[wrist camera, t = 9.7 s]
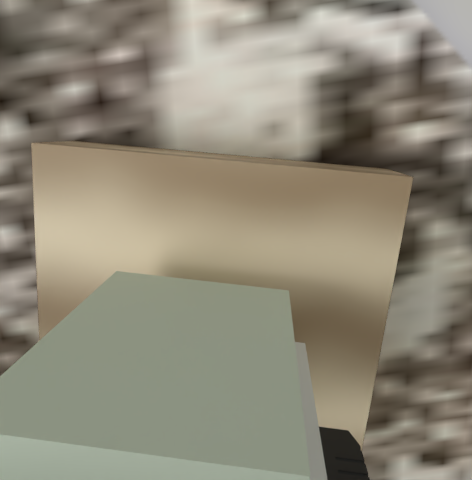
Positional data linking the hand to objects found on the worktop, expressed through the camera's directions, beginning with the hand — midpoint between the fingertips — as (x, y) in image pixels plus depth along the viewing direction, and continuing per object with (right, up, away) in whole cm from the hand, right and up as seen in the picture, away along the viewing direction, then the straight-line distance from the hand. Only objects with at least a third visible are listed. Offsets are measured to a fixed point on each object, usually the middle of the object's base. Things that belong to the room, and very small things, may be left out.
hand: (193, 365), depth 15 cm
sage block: (0, 0, 0) cm, 0 cm away
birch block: (0, +2, +6) cm, 6 cm away
